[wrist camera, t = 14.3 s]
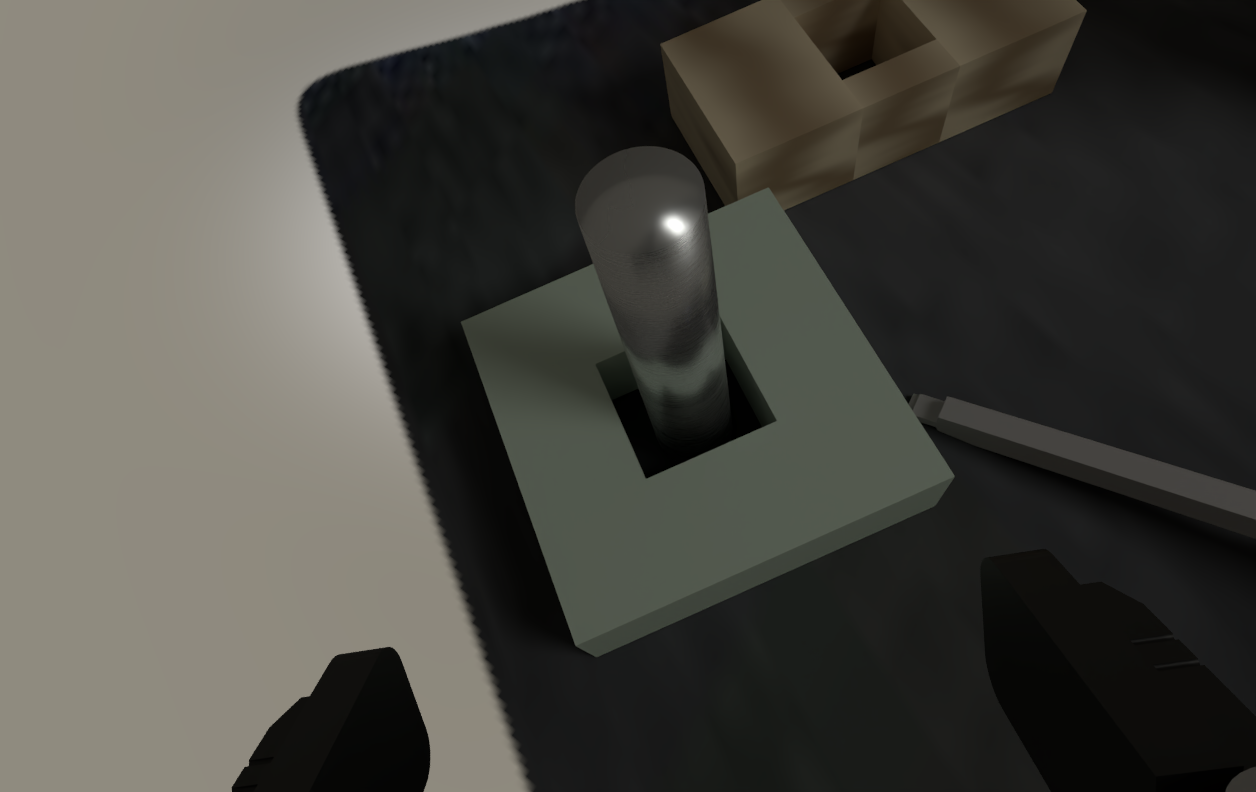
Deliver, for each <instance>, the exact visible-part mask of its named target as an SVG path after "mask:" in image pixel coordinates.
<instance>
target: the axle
mask: <svg viewBox="0 0 1256 792" xmlns="http://www.w3.org/2000/svg"><path fill="white" fill-rule="evenodd" d="M575 213H576V218H577V220H578V223H579V226H580V229H581V231H582V234H583V237H584V240H585V242H586V245H587V248H588V251H589V253H590V256H591V259H592V262H593V264H594V267H595V270H596V273H597V275H598V278H599V281H600V284H601V286H602V289H603V292H604V295H605V297H606V300H607V303H608V306H609V308H610V311H611V314H612V317H613V319H614V322H615V325H616V328H617V330H618V333H619V336H620V339H621V341H622V344H623V347H624V350H625V352H626V355H627V358H628V361H629V363H630V366H631V369H632V372H633V374H634V377H635V380H636V383H637V385H638V388H639V391H640V394H641V396H642V399H643V402H644V405H645V407H646V410H647V413H648V416H649V418H650V421H651V424H652V427H653V429H654V432H655V435H656V438H657V440H658V443H659V445H660V447H661V449H662V450H663V451H664V452H665V453H666V454H667V455H668V456H669V457H670V458H672V459H674V460H675V461H678V462H680V463H683V462H686V461H688V460H690V459H692V458H695V457H697V456H699V455H701V454H704V453H706V452H708V451H710V450H713V449H715V448H717V447H719V446H722V445H724V444H726V443H728V442H730V439H731V436H732V430H733V425H732V417H731V408H730V400H729V391H728V382H727V374H726V365H725V357H724V348H723V340H722V331H721V322H720V314H719V305H718V297H717V288H716V280H715V271H714V262H713V254H712V245H711V237H710V228H709V220H708V211H707V203H706V194H705V186H704V181H703V178H702V176H701V174H700V172H699V170H698V169H697V167H696V166H695V165H694V164H693V163H692V162H691V161H690V160H689V159H688V158H686V157H685V156H683V155H682V154H680V153H678V152H675V151H673V150H670V149H667V148H663V147H656V146H641V147H634V148H629V149H625V150H622V151H619V152H617V153H614V154H612V155H610V156H608V157H607V158H605V159H604V160H602V161H601V162H599V163H598V164H597V165H595V166H594V167H593V168H592V169H591V170H590V171H589V173H588V174H587V175H586V176H585V178H584V179H583V181H582V182H581V184H580V186H579V189H578V191H577V195H576V200H575Z"/></svg>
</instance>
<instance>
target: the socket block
mask: <svg viewBox="0 0 1256 792" xmlns="http://www.w3.org/2000/svg"><path fill="white" fill-rule="evenodd" d="M708 220H709V228H710V237H711V245H712V254H713V262H714V271H715V280H716V288H717V297H718V305H719V314H720V322H721V331H722V340H723V348H724V357H725V359H726V361H727V362H728V364H729V366H730V368H731V370H732V372H733V374H734V376H735V377H736V379H737V381H738V383H739V385H740V387H741V389H742V391H743V392H744V394H745V396H746V398H747V400H748V402H749V404H750V406H751V407H752V409H753V411H754V413H755V415H756V417H757V419H758V421H759V422H760V424H761V426H762V428H760V429H758V430H755V431H753V432H751V433H749V434H746V435H744V436H742V437H740V438H737V439H735V440H733V441H731V442H728V443H726V444H724V445H722V446H719V447H717V448H715V449H713V450H710V451H708V452H706V453H704V454H701V455H699V456H697V457H695V458H692V459H690V460H688V461H686V462H683V463H681V464H679V465H676V466H674V467H672V468H670V469H667V470H665V471H663V472H661V473H658V474H656V475H654V476H652V477H649V478H647V479H646V477H645V475H644V473H643V470H642V468H641V466H640V464H639V461H638V459H637V457H636V455H635V452H634V450H633V448H632V445H631V443H630V441H629V439H628V436H627V434H626V432H625V430H624V427H623V425H622V423H621V420H620V418H619V416H618V414H617V411H616V409H615V407H614V404H613V402H612V400H614V399H616V398H618V397H620V396H623V395H625V394H627V393H629V392H632V391H634V390H636V389H638V385H637V383H636V380H635V377H634V374H633V372H632V369H631V366H630V363H629V361H628V358H627V355H626V352H625V350H624V347H623V344H622V341H621V339H620V336H619V333H618V330H617V328H616V325H615V322H614V319H613V317H612V314H611V311H610V308H609V306H608V303H607V300H606V297H605V295H604V292H603V289H602V286H601V284H600V281H599V278H598V275H597V273H596V270H595V267H594V264H592V265H590V266H588V267H585V268H583V269H581V270H578V271H576V272H574V273H572V274H569V275H567V276H565V277H562V278H560V279H558V280H556V281H553V282H551V283H549V284H546V285H544V286H542V287H540V288H537V289H535V290H533V291H530V292H528V293H526V294H524V295H521V296H519V297H517V298H514V299H512V300H510V301H508V302H505V303H503V304H501V305H498V306H496V307H494V308H492V309H489V310H487V311H485V312H482V313H480V314H478V315H476V316H473V317H471V318H469V319H466V320H464V321H462V322H461V324H462V326H463V329H464V332H465V335H466V338H467V341H468V343H469V346H470V349H471V352H472V355H473V358H474V360H475V363H476V366H477V369H478V372H479V374H480V377H481V380H482V383H483V386H484V389H485V391H486V394H487V397H488V400H489V403H490V406H491V408H492V411H493V414H494V417H495V420H496V423H497V425H498V428H499V431H500V434H501V437H502V439H503V442H504V445H505V448H506V451H507V454H508V456H509V459H510V462H511V465H512V468H513V471H514V473H515V476H516V479H517V482H518V485H519V488H520V490H521V493H522V496H523V499H524V502H525V504H526V507H527V510H528V513H529V516H530V519H531V521H532V524H533V527H534V530H535V533H536V536H537V538H538V541H539V544H540V547H541V550H542V552H543V555H544V558H545V561H546V564H547V567H548V569H549V572H550V575H551V578H552V581H553V584H554V586H555V589H556V592H557V595H558V598H559V601H560V603H561V606H562V609H563V612H564V615H565V617H566V620H567V623H568V626H569V629H570V632H571V634H572V637H573V640H574V643H575V646H576V647H578V648H580V649H582V650H584V651H586V652H588V653H589V654H591V655H593V656H595V657H599V656H601V655H603V654H605V653H607V652H610V651H612V650H614V649H616V648H619V647H621V646H623V645H625V644H628V643H630V642H632V641H634V640H636V639H639V638H641V637H643V636H645V635H648V634H650V633H652V632H654V631H657V630H659V629H661V628H663V627H666V626H668V625H670V624H672V623H674V622H677V621H679V620H681V619H683V618H686V617H688V616H690V615H692V614H695V613H697V612H699V611H701V610H703V609H706V608H708V607H710V606H712V605H715V604H717V603H719V602H721V601H724V600H726V599H728V598H730V597H733V596H735V595H737V594H739V593H741V592H744V591H746V590H748V589H750V588H753V587H755V586H757V585H759V584H762V583H764V582H766V581H768V580H770V579H773V578H775V577H777V576H779V575H782V574H784V573H786V572H788V571H791V570H793V569H795V568H797V567H800V566H802V565H804V564H806V563H808V562H811V561H813V560H815V559H817V558H820V557H822V556H824V555H826V554H829V553H831V552H833V551H835V550H837V549H840V548H842V547H844V546H846V545H849V544H851V543H853V542H855V541H858V540H860V539H862V538H864V537H867V536H869V535H871V534H873V533H875V532H878V531H880V530H882V529H884V528H887V527H889V526H891V525H893V524H896V523H898V522H900V521H902V520H904V519H907V518H909V517H911V516H913V515H916V514H918V513H920V512H922V511H925V510H927V509H929V508H931V507H934V506H935V505H936V504H937V502H938V501H939V499H940V498H941V496H942V495H943V493H944V492H945V490H946V489H947V487H948V486H949V484H950V483H951V481H952V480H953V478H954V477H955V476H954V474H953V473H952V471H951V470H950V468H949V467H948V465H947V464H946V462H945V460H944V459H943V457H942V456H941V454H940V453H939V451H938V450H937V448H936V446H935V445H934V443H933V442H932V440H931V439H930V437H929V436H928V434H927V432H926V431H925V429H924V428H923V426H922V425H921V423H920V422H919V420H918V418H917V417H916V415H915V414H914V412H913V411H912V409H911V408H910V406H909V404H908V403H907V401H906V400H905V398H904V397H903V395H902V394H901V392H900V390H899V389H898V387H897V386H896V384H895V383H894V381H893V380H892V378H891V377H890V375H889V373H888V372H887V370H886V369H885V367H884V366H883V364H882V363H881V361H880V359H879V358H878V356H877V355H876V353H875V352H874V350H873V349H872V347H871V345H870V344H869V342H868V341H867V339H866V338H865V336H864V335H863V333H862V331H861V330H860V328H859V327H858V325H857V324H856V322H855V321H854V319H853V317H852V316H851V314H850V313H849V311H848V310H847V308H846V307H845V305H844V303H843V302H842V300H841V299H840V297H839V296H838V294H837V293H836V291H835V289H834V288H833V286H832V285H831V283H830V282H829V280H828V279H827V277H826V275H825V274H824V272H823V271H822V269H821V268H820V266H819V265H818V263H817V261H816V260H815V258H814V257H813V255H812V254H811V252H810V251H809V249H808V248H807V246H806V244H805V243H804V241H803V240H802V238H801V237H800V235H799V234H798V232H797V230H796V229H795V227H794V226H793V224H792V223H791V221H790V220H789V218H788V216H787V215H786V213H785V212H784V210H783V209H782V207H781V206H780V204H779V202H778V201H777V199H776V198H775V196H774V195H773V193H772V192H771V190H770V188H769V187H768V188H766V189H763V190H761V191H759V192H756V193H754V194H752V195H750V196H747V197H745V198H743V199H741V200H738V201H736V202H734V203H731V204H729V205H727V206H725V207H722V208H720V209H718V210H715V211H713V212H711V213H709V214H708Z"/></svg>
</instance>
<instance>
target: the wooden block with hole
mask: <svg viewBox="0 0 1256 792" xmlns="http://www.w3.org/2000/svg"><path fill="white" fill-rule="evenodd" d="M1086 12H1087V10H1086V9H1085V8H1084V7H1083V6H1082V5H1081V4H1080V3H1079V2H1077V1H1076V0H761V1H759V2H756V3H754V4H752V5H749V6H747V7H745V8H742V9H740V10H738V11H736V12H733V13H731V14H729V15H726V16H724V17H722V18H719V19H717V20H715V21H712V22H710V23H708V24H706V25H703V26H701V27H699V28H696V29H694V30H692V31H689V32H687V33H685V34H682V35H680V36H678V37H676V38H673V39H671V40H669V41H666V42H664V43H662V44H660V46H661V52H662V59H663V65H664V72H665V78H666V85H667V91H668V97H669V104H670V110H671V116H672V118H673V120H674V121H675V123H676V125H677V126H678V128H679V130H680V131H681V133H682V135H683V137H684V138H685V140H686V142H687V143H688V145H689V147H690V148H691V150H692V152H693V153H694V155H695V157H696V158H697V160H698V162H699V163H700V165H701V167H702V168H703V170H704V172H705V173H706V175H707V177H708V178H709V180H710V182H711V183H712V185H713V187H714V188H715V190H716V192H717V193H718V195H719V197H720V198H721V200H722V202H723V203H724V205H725V206H727V205H729V204H731V203H734V202H736V201H738V200H741V199H743V198H745V197H747V196H750V195H752V194H754V193H756V192H759V191H761V190H763V189H766V188H768V187H769V188H770V190H771V192H772V193H773V195H774V196H775V198H776V199H777V201H778V202H779V204H780V206H781V207H782V209H783V210H786V209H788V208H791V207H793V206H795V205H797V204H800V203H802V202H804V201H806V200H809V199H811V198H813V197H816V196H818V195H820V194H822V193H825V192H827V191H829V190H832V189H834V188H836V187H838V186H841V185H843V184H845V183H848V182H850V181H852V180H854V179H857V178H859V177H861V176H863V175H866V174H868V173H870V172H873V171H875V170H877V169H879V168H882V167H884V166H886V165H889V164H891V163H893V162H895V161H898V160H900V159H902V158H905V157H907V156H909V155H911V154H914V153H916V152H918V151H920V150H923V149H925V148H927V147H930V146H932V145H934V144H936V143H939V142H941V141H943V140H946V139H948V138H950V137H952V136H955V135H957V134H959V133H962V132H964V131H966V130H968V129H971V128H973V127H975V126H977V125H980V124H982V123H984V122H987V121H989V120H991V119H993V118H996V117H998V116H1000V115H1003V114H1005V113H1007V112H1009V111H1012V110H1014V109H1016V108H1019V107H1021V106H1023V105H1025V104H1028V103H1030V102H1032V101H1034V100H1037V99H1039V98H1041V97H1044V96H1046V95H1048V94H1050V93H1052V91H1053V89H1054V86H1055V84H1056V82H1057V79H1058V77H1059V75H1060V72H1061V70H1062V68H1063V65H1064V63H1065V61H1066V58H1067V56H1068V54H1069V51H1070V49H1071V47H1072V44H1073V42H1074V40H1075V37H1076V35H1077V33H1078V30H1079V28H1080V26H1081V23H1082V21H1083V19H1084V16H1085V14H1086ZM871 59H872V60H873V62H874V63H875V64H876V66H874V67H872V68H869V69H867V70H865V71H862V72H860V73H858V74H856V75H853V76H851V77H849V78H846V79H844V80H842V79H841V78H840V77H839V75H838V73H841V72H843V71H845V70H848V69H850V68H852V67H854V66H857V65H859V64H861V63H864V62H866V61H868V60H871Z"/></svg>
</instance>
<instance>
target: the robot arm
mask: <svg viewBox="0 0 1256 792" xmlns="http://www.w3.org/2000/svg"><path fill="white" fill-rule="evenodd" d="M981 591H982V608H983V625H984V642H985V656H986V663H987V668H988V672H989V676H990V680H991V683H992V686H993V689H994V692H995V694H996V697H997V699H998V701H999V703H1000V705H1001V707H1002V709H1003V710H1004V712H1005V714H1006V716H1007V717H1008V719H1009V721H1010V722H1011V724H1012V726H1013V727H1014V729H1015V731H1016V733H1017V734H1018V736H1019V738H1020V739H1021V741H1022V743H1023V745H1024V746H1025V748H1026V750H1027V751H1028V753H1029V755H1030V757H1031V758H1032V760H1033V762H1034V763H1035V765H1036V767H1037V768H1038V770H1039V772H1040V774H1041V775H1042V777H1043V779H1044V780H1045V782H1046V784H1047V786H1048V787H1049V789H1050V791H1051V792H1256V716H1255V715H1254V714H1253V713H1252V712H1251V711H1250V710H1249V709H1248V708H1247V707H1246V706H1245V705H1244V704H1243V703H1242V702H1241V701H1240V700H1239V699H1238V698H1237V697H1236V696H1235V695H1234V694H1233V693H1232V692H1231V691H1230V690H1229V689H1228V688H1227V687H1226V686H1225V685H1224V684H1223V683H1222V682H1221V681H1220V680H1219V679H1218V678H1217V677H1216V676H1215V675H1214V674H1213V673H1212V672H1211V671H1210V670H1209V669H1208V668H1207V667H1206V666H1205V665H1201V666H1200V664H1199V662H1198V658H1197V657H1196V656H1195V655H1194V654H1193V653H1192V652H1191V651H1190V650H1189V649H1188V648H1187V647H1186V646H1185V645H1184V644H1183V643H1182V642H1181V641H1180V640H1179V639H1178V640H1175V639H1174V637H1173V633H1172V632H1171V631H1170V630H1169V629H1168V628H1167V627H1166V626H1165V625H1164V624H1163V623H1162V622H1161V621H1160V620H1159V619H1158V618H1157V617H1156V616H1155V615H1154V614H1153V613H1152V612H1151V611H1150V610H1149V609H1148V608H1147V607H1146V606H1145V605H1144V604H1142V603H1140V602H1138V601H1137V600H1135V599H1133V598H1131V597H1129V596H1127V595H1125V594H1123V593H1121V592H1119V591H1118V590H1116V589H1114V588H1112V587H1110V586H1108V585H1106V584H1104V583H1102V582H1096V583H1089V584H1083V585H1080V584H1079V583H1078V582H1077V581H1076V580H1075V579H1074V578H1073V577H1072V575H1071V574H1070V573H1069V572H1068V571H1067V570H1066V569H1065V568H1064V567H1063V565H1062V564H1061V563H1060V562H1059V561H1058V560H1057V559H1056V558H1055V557H1054V556H1053V555H1052V554H1051V553H1050V552H1049V551H1048V550H1045V549H1040V550H1034V551H1027V552H1021V553H1014V554H1008V555H1001V556H994V557H988V558H984V559H983V561H982V563H981ZM429 768H430V745H429V738H428V734H427V730H426V727H425V724H424V722H423V719H422V716H421V713H420V711H419V708H418V705H417V702H416V700H415V697H414V694H413V692H412V689H411V687H410V683H409V681H408V678H407V675H406V672H405V669H404V666H403V664H402V661H401V659H400V656H399V655H398V653H397V652H396V651H395V650H394V649H393V648H391V647H386V648H379V649H373V650H366V651H359V652H353V653H346V654H340V655H337V656H335V657H334V658H333V659H332V660H331V662H330V663H329V665H328V667H327V668H326V670H325V672H324V673H323V675H322V677H321V679H320V680H319V682H318V684H317V685H316V687H315V689H314V691H313V692H312V694H311V696H309V697H302V698H300V699H299V700H298V701H297V702H296V703H295V704H294V705H293V706H292V707H291V708H290V709H289V710H288V711H287V712H285V713H284V714H283V715H282V716H281V717H280V718H279V719H278V720H277V721H276V722H275V723H274V724H273V725H272V726H271V727H270V728H269V729H268V731H267V732H266V734H265V735H264V737H263V739H262V740H261V742H260V743H259V745H258V747H257V748H256V750H255V751H254V753H253V755H252V756H251V758H250V759H249V766H248V767H244V769H243V771H242V772H241V774H240V775H239V777H238V778H237V780H236V782H235V783H234V785H233V786H232V792H423V791H424V789H425V786H426V783H427V779H428V775H429Z"/></svg>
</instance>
